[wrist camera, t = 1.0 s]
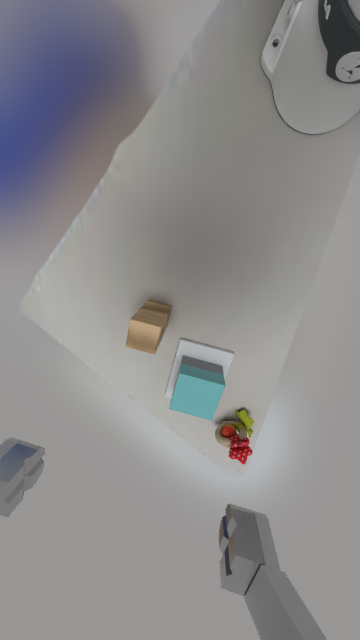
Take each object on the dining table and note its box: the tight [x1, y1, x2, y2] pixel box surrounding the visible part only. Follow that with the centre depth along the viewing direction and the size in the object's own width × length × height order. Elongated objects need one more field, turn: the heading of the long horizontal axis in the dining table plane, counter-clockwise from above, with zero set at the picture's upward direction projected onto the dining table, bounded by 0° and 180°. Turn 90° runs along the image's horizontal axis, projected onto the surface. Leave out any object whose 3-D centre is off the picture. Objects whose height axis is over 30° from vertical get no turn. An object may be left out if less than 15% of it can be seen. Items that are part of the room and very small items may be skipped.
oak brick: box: [126, 300, 172, 354], centre depth 40 cm, size 5×5×12 cm
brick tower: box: [165, 338, 234, 421], centre depth 46 cm, size 16×12×8 cm
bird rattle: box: [215, 409, 254, 464], centre depth 49 cm, size 6×11×9 cm
